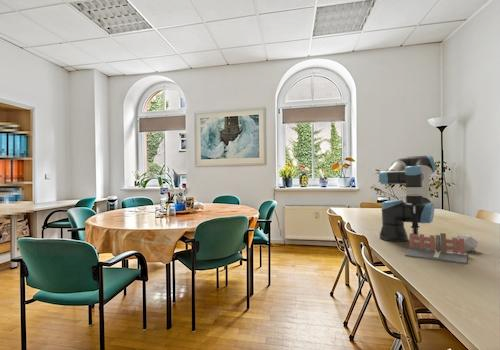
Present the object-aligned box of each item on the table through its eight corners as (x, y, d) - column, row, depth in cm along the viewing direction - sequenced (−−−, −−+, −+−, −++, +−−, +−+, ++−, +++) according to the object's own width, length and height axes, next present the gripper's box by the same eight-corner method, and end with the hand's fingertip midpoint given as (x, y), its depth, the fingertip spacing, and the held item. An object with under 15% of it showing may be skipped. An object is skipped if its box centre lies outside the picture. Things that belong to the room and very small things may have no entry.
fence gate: (440, 250, 134) (440, 235, 134) (440, 251, 132) (439, 235, 133) (410, 246, 142) (409, 232, 142) (409, 247, 141) (409, 233, 141)
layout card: (412, 246, 146) (412, 245, 146) (467, 253, 131) (467, 251, 131) (405, 255, 130) (405, 254, 130) (466, 264, 116) (466, 262, 116)
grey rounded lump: (479, 255, 129) (483, 237, 132) (461, 246, 131) (465, 228, 134) (466, 257, 137) (471, 240, 140) (449, 248, 138) (454, 231, 141)
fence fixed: (441, 252, 132) (440, 233, 132) (441, 251, 134) (440, 232, 134) (464, 254, 127) (463, 235, 127) (464, 253, 128) (463, 234, 128)
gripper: (406, 194, 151) (407, 237, 151) (405, 195, 140) (406, 241, 140) (422, 194, 147) (424, 238, 147) (422, 196, 136) (424, 243, 136)
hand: (415, 240), depth 143 cm, fingers closed
